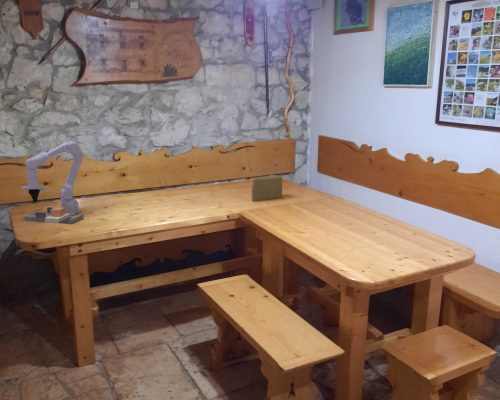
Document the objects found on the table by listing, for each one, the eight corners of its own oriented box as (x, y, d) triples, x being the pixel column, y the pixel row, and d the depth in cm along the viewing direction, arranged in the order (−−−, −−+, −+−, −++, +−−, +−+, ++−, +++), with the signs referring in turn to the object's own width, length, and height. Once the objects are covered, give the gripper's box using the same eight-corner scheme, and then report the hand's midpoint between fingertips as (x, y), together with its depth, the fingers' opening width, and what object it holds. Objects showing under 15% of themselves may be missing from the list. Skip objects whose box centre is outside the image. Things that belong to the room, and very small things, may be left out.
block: (65, 213, 297) (65, 207, 296) (60, 216, 291) (59, 210, 290) (56, 213, 298) (55, 207, 297) (51, 216, 292) (50, 209, 291)
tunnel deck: (83, 218, 296) (82, 209, 294) (71, 224, 285) (70, 214, 284) (38, 215, 305) (36, 206, 303) (24, 220, 294) (23, 211, 293)
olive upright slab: (256, 203, 325) (256, 180, 321) (247, 200, 332) (247, 178, 329) (283, 197, 338) (283, 175, 334) (273, 195, 345) (273, 173, 342)
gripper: (47, 178, 298) (50, 200, 301) (24, 178, 299) (26, 200, 302) (42, 180, 291) (45, 203, 295) (18, 180, 292) (21, 203, 295)
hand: (35, 201), depth 298 cm, fingers closed
